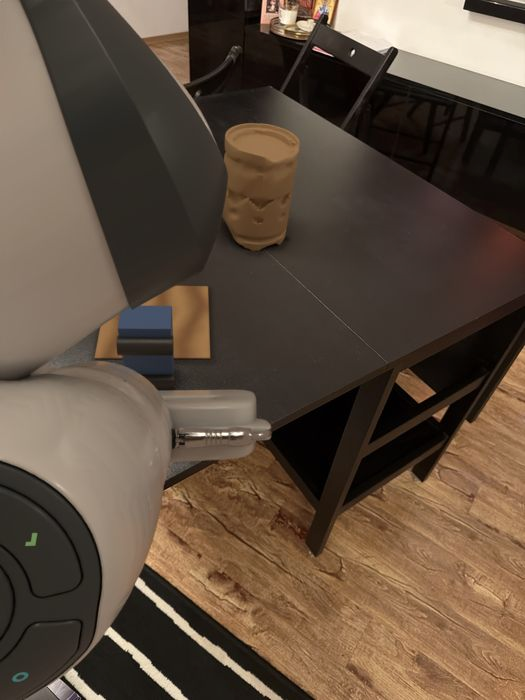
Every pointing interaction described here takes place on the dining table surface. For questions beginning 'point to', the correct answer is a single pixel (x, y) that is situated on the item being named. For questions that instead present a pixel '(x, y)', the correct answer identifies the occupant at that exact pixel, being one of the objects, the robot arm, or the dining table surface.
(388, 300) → the dining table surface
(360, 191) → the dining table surface
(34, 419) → the robot arm
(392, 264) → the dining table surface
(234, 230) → the container
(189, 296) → the brown flat square board
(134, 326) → the toy car
